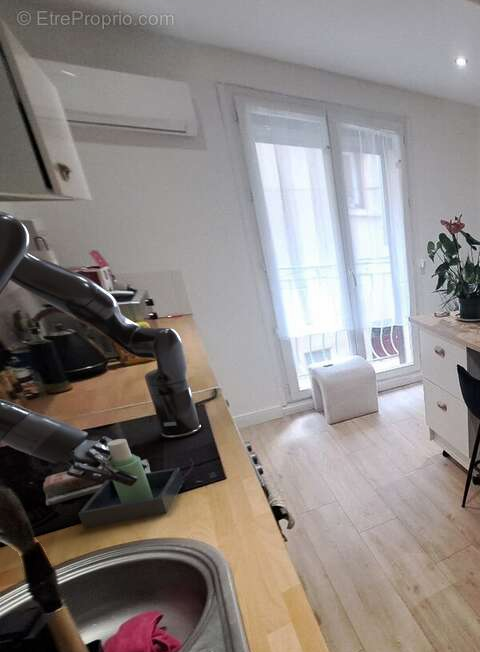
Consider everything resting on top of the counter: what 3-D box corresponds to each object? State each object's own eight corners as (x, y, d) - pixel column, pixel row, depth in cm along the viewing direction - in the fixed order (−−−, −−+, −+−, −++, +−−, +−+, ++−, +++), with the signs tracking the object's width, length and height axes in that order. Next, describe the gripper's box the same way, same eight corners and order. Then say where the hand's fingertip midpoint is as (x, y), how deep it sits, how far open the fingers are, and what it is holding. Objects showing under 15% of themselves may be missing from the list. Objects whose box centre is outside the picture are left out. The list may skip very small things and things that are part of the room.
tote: (112, 495, 97) (106, 479, 96) (184, 483, 103) (179, 467, 101) (85, 531, 86) (77, 513, 84) (167, 515, 92) (161, 498, 90)
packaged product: (38, 490, 91) (41, 472, 97) (47, 508, 92) (49, 489, 99) (147, 461, 103) (143, 447, 109) (152, 478, 105) (148, 462, 111)
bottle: (128, 499, 95) (105, 438, 90) (156, 494, 98) (136, 434, 92) (119, 512, 91) (95, 449, 85) (149, 506, 93) (127, 445, 88)
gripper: (39, 439, 78) (140, 479, 87) (76, 410, 90) (162, 448, 99) (10, 469, 77) (115, 506, 86) (52, 436, 89) (140, 471, 98)
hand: (139, 475), depth 93 cm, fingers closed on bottle, 5 cm apart
